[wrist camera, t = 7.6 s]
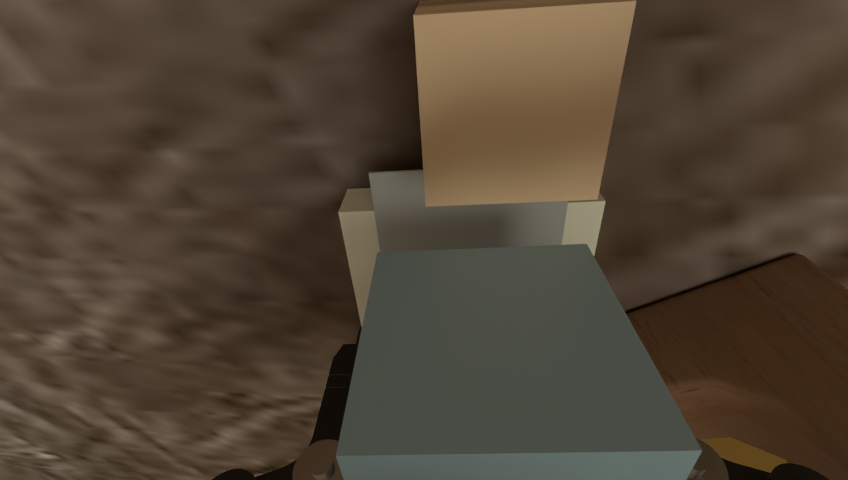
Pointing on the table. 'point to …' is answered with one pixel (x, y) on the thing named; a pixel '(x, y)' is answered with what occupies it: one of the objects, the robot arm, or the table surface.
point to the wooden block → (760, 361)
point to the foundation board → (449, 224)
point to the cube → (505, 374)
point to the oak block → (517, 97)
